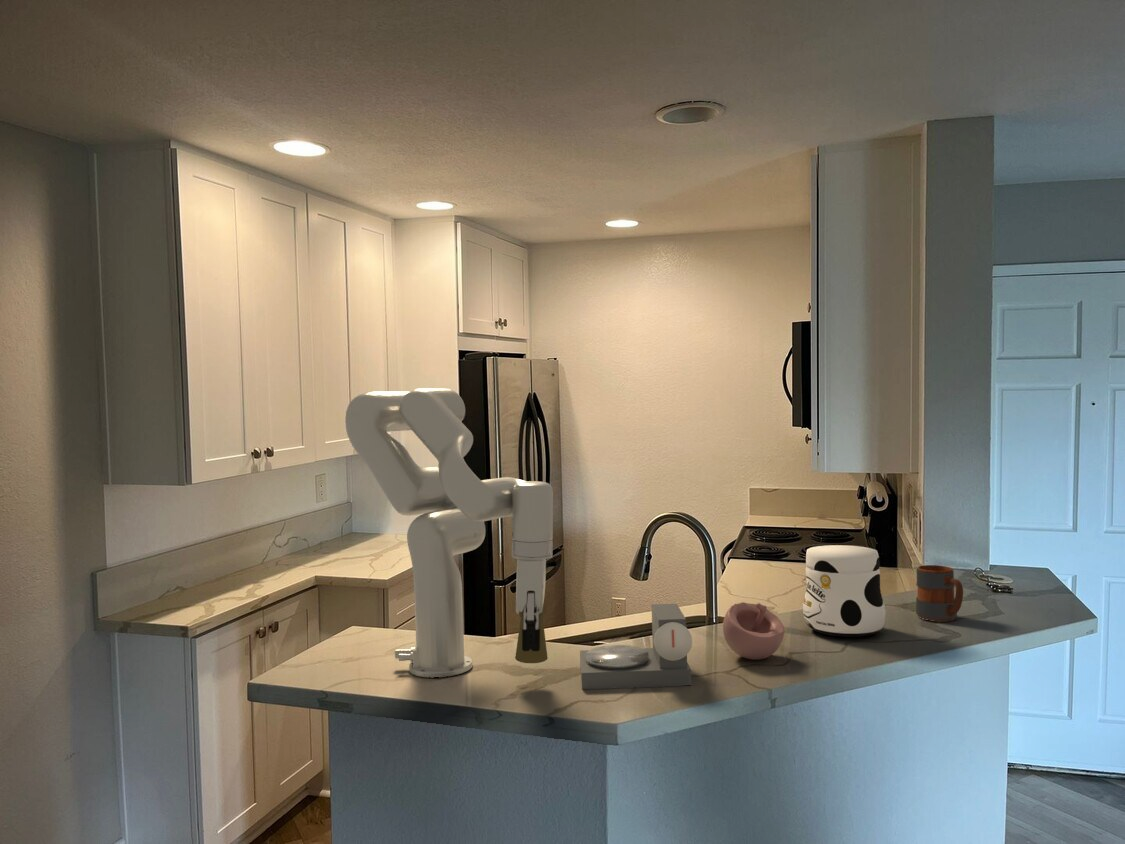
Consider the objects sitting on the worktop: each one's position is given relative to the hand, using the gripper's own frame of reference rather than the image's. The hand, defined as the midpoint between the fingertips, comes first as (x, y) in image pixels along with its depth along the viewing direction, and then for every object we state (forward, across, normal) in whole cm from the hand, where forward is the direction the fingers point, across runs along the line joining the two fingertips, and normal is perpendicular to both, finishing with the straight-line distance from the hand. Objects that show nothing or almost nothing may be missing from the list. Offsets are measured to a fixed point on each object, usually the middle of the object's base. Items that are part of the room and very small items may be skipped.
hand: (531, 645), depth 151 cm
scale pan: (+4, -4, +16) cm, 17 cm away
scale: (+7, -4, +19) cm, 21 cm away
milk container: (+6, -29, +68) cm, 75 cm away
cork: (+3, 0, 0) cm, 3 cm away
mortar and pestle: (+6, -12, +44) cm, 46 cm away
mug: (+5, -36, +93) cm, 100 cm away
